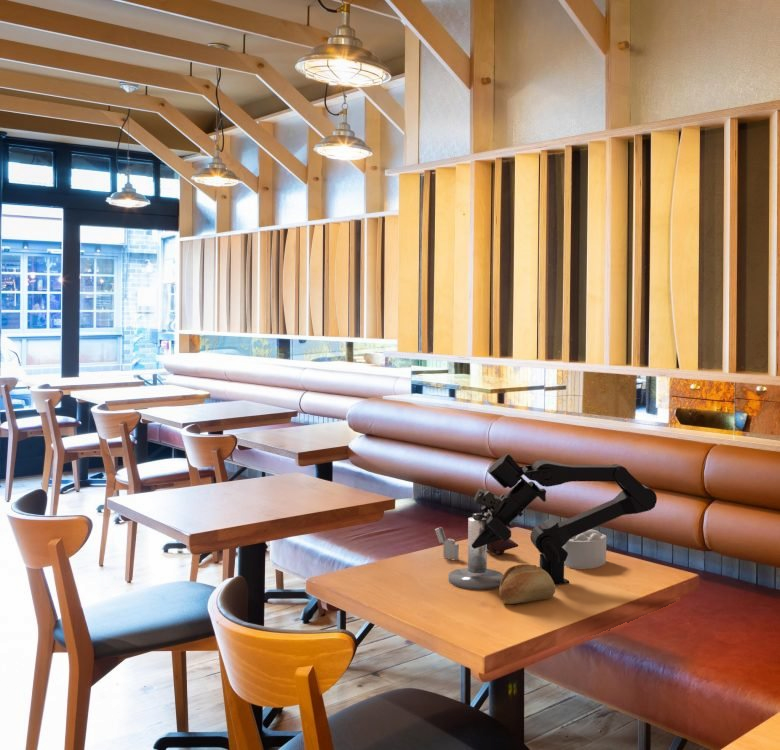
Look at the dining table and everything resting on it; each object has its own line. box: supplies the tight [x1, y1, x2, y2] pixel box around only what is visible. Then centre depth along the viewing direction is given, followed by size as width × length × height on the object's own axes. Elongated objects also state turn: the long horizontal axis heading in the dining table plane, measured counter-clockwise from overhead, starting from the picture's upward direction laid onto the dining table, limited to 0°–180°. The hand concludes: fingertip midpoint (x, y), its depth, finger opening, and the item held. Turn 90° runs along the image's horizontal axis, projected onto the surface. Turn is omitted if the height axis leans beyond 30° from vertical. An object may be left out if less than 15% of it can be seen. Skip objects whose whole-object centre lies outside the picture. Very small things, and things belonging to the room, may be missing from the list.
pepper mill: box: [467, 512, 488, 573], centre depth 201 cm, size 5×5×14 cm
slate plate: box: [448, 567, 504, 591], centre depth 202 cm, size 14×14×1 cm
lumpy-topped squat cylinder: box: [563, 529, 607, 570], centre depth 218 cm, size 10×13×9 cm
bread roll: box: [498, 563, 556, 605], centre depth 188 cm, size 10×15×8 cm, turn 123°
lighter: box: [434, 526, 460, 561], centre depth 222 cm, size 7×2×8 cm, turn 48°
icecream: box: [487, 538, 519, 556], centre depth 227 cm, size 7×7×15 cm
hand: (471, 544), depth 202 cm, fingers closed on pepper mill, 5 cm apart
